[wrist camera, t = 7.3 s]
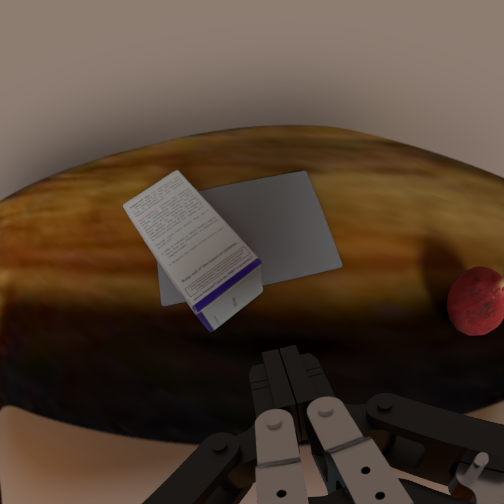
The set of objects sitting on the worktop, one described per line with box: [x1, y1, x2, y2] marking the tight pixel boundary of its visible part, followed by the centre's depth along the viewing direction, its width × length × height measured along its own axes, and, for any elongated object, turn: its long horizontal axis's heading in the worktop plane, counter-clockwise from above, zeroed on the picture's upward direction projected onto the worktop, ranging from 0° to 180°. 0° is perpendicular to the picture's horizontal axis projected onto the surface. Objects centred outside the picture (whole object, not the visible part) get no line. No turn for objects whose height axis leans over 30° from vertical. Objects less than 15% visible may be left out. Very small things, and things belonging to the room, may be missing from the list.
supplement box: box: [123, 170, 263, 332], centre depth 26 cm, size 6×6×12 cm
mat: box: [157, 171, 342, 306], centre depth 30 cm, size 16×11×1 cm
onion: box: [447, 267, 504, 336], centre depth 22 cm, size 6×6×8 cm
